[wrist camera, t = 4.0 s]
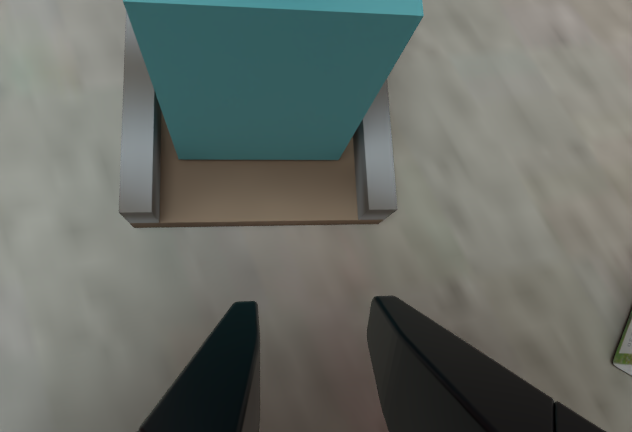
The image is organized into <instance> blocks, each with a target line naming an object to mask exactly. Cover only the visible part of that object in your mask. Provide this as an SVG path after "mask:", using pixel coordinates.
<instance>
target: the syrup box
mask: <svg viewBox="0 0 632 432" xmlns="http://www.w3.org/2000/svg"><path fill="white" fill-rule="evenodd" d="M613 364H614V365H615V366H616V367H618V368H619V369H621V370H623V371H625V372H626V373H628V374H630V375H631V376H632V311H631V314H630V316H629V319H628V322H627V325H626V327H625V330H624V332H623V335H622V338H621V340H620V343H619V346H618V348H617V351H616V354H615V357H614V360H613Z"/></svg>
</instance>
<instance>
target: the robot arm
mask: <svg viewBox="0 0 632 432" xmlns="http://www.w3.org/2000/svg"><path fill="white" fill-rule="evenodd" d="M367 341H368V347H369V352H370V356H371V361H372V366H373V370H374V375H375V380H376V384H377V389H378V394H379V398H380V403H381V407H382V411H383V414H384V418H385V421H386V424H387V427H388V429H389V432H606V431H604V430H602V429H601V428H599V427H598V426H596V425H594V424H593V423H591V422H590V421H588V420H586V419H585V418H583V417H582V416H580V415H578V414H577V413H575V412H574V411H572V410H571V409H569V408H568V407H566V406H565V405H563V404H561V403H560V402H558V401H556V402H555V403H554V400H553V399H552V398H551V397H549V396H548V395H546V394H545V393H543V392H542V391H540V390H539V389H537V388H535V387H534V386H532V385H531V384H529V383H528V382H526V381H525V380H523V379H522V378H520V377H519V376H517V375H516V374H514V373H512V372H511V371H509V370H508V369H506V368H505V367H503V366H502V365H500V364H499V363H497V362H496V361H494V360H493V359H491V358H489V357H488V356H486V355H485V354H483V353H482V352H480V351H479V350H477V349H476V348H474V347H473V346H471V345H469V344H468V343H466V342H465V341H463V340H462V339H460V338H459V337H457V336H456V335H454V334H453V333H451V332H450V331H448V330H446V329H445V328H443V327H442V326H440V325H439V324H437V323H436V322H434V321H433V320H431V319H430V318H428V317H427V316H425V315H423V314H422V313H420V312H419V311H417V310H416V309H414V308H413V307H411V306H410V305H408V304H407V303H405V302H403V301H402V300H400V299H399V298H397V297H395V296H376V297H374V298H373V300H372V302H371V308H370V314H369V321H368V327H367ZM259 424H260V330H259V316H258V304H257V303H256V302H255V301H244V302H235V303H234V304H233V305H232V306H231V307H230V309H229V310H228V311H227V313H226V314H225V315H224V317H223V318H222V319H221V321H220V322H219V323H218V325H217V326H216V327H215V329H214V330H213V331H212V332H211V334H210V335H209V336H208V338H207V339H206V340H205V342H204V343H203V344H202V346H201V347H200V348H199V350H198V351H197V352H196V354H195V355H194V356H193V358H192V359H191V360H190V362H189V363H188V364H187V366H186V367H185V368H184V370H183V371H182V372H181V374H180V375H179V376H178V377H177V379H176V380H175V381H174V383H173V384H172V385H171V387H170V388H169V389H168V391H167V392H166V393H165V395H164V396H163V397H162V399H161V400H160V401H159V403H158V404H157V405H156V407H155V408H154V409H153V411H152V412H151V413H150V415H149V416H148V417H147V418H146V420H145V421H144V422H143V424H142V425H141V426H140V428H139V430H138V431H137V432H259Z"/></svg>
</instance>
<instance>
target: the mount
mask: <svg viewBox="0 0 632 432" xmlns="http://www.w3.org/2000/svg"><path fill="white" fill-rule="evenodd" d="M396 210H397V198H396V186H395V173H394V161H393V148H392V136H391V124H390V111H389V99H388V86H387V79H386V80H385V82H384V84H383V85H382V87H381V89H380V91H379V92H378V94H377V96H376V97H375V99H374V101H373V102H372V104H371V106H370V108H369V109H368V111H367V113H366V114H365V116H364V118H363V119H362V121H361V123H360V125H359V126H358V128H357V130H356V131H355V133H354V135H353V136H352V138H351V140H350V142H349V143H348V145H347V147H346V148H345V150H344V152H343V153H342V155H341V157H340V159H339V160H190V159H178V156H177V153H176V150H175V147H174V145H173V142H172V139H171V136H170V133H169V130H168V128H167V125H166V122H165V119H164V116H163V113H162V110H161V108H160V105H159V102H158V99H157V96H156V93H155V91H154V88H153V85H152V82H151V79H150V76H149V73H148V71H147V68H146V65H145V62H144V59H143V56H142V54H141V51H140V48H139V45H138V42H137V39H136V36H135V34H134V31H133V28H132V25H131V22H130V19H129V17H128V14H127V11H126V31H125V58H124V86H123V113H122V141H121V168H120V196H119V213H120V214H121V215H122V216H123V217H124V218H125V219H126V220H127V221H128V222H129V223H130V224H131V225H132V226H133V227H134V228H147V227H211V226H274V225H338V224H379V223H380V222H381V221H383V220H384V219H385V218H387V217H388V216H389V215H391V214H392V213H393V212H395V211H396Z"/></svg>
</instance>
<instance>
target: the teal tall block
mask: <svg viewBox="0 0 632 432" xmlns="http://www.w3.org/2000/svg"><path fill="white" fill-rule="evenodd" d="M123 2H124V5H125V8H126V11H127V14H128V17H129V19H130V22H131V25H132V28H133V31H134V34H135V36H136V39H137V42H138V45H139V48H140V51H141V54H142V56H143V59H144V62H145V65H146V68H147V71H148V73H149V76H150V79H151V82H152V85H153V88H154V91H155V93H156V96H157V99H158V102H159V105H160V108H161V110H162V113H163V116H164V119H165V122H166V125H167V128H168V130H169V133H170V136H171V139H172V142H173V145H174V147H175V150H176V153H177V156H178V159H190V160H339V159H340V157H341V155H342V153H343V152H344V150H345V148H346V147H347V145H348V143H349V142H350V140H351V138H352V136H353V135H354V133H355V131H356V130H357V128H358V126H359V125H360V123H361V121H362V119H363V118H364V116H365V114H366V113H367V111H368V109H369V108H370V106H371V104H372V102H373V101H374V99H375V97H376V96H377V94H378V92H379V91H380V89H381V87H382V85H383V84H384V82H385V80H386V79H387V77H388V75H389V74H390V72H391V70H392V69H393V67H394V65H395V63H396V62H397V60H398V58H399V57H400V55H401V53H402V52H403V50H404V48H405V46H406V45H407V43H408V41H409V40H410V38H411V36H412V35H413V33H414V31H415V29H416V28H417V26H418V24H419V23H420V21H421V19H422V18H423V6H422V0H123Z"/></svg>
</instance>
